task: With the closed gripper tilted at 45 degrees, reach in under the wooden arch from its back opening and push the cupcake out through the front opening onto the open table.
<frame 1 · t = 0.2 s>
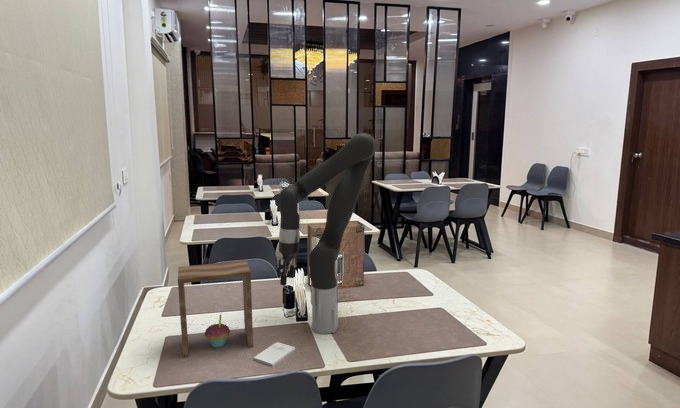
hand: (287, 281, 166), 18 cm above the table, tool pointing down, fingers open, 8 cm apart
wooden arch: (217, 344, 155), on the table
book: (335, 285, 211), on the table
external hard drive: (274, 357, 148), on the table
cupcake: (218, 344, 155), on the table
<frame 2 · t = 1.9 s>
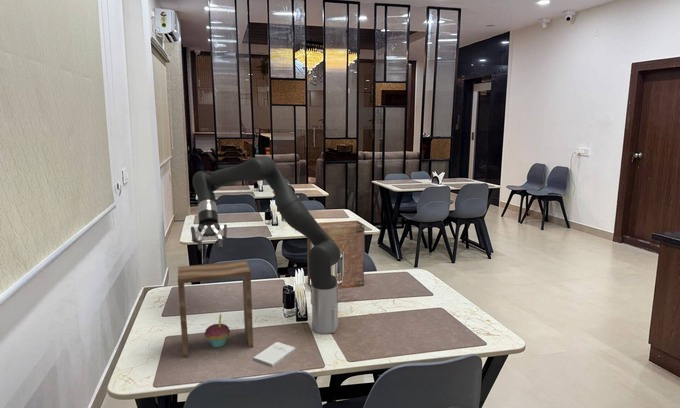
hand: (210, 249, 169), 28 cm above the table, tool tilted 45°, fingers open, 6 cm apart
nothing on the table moved.
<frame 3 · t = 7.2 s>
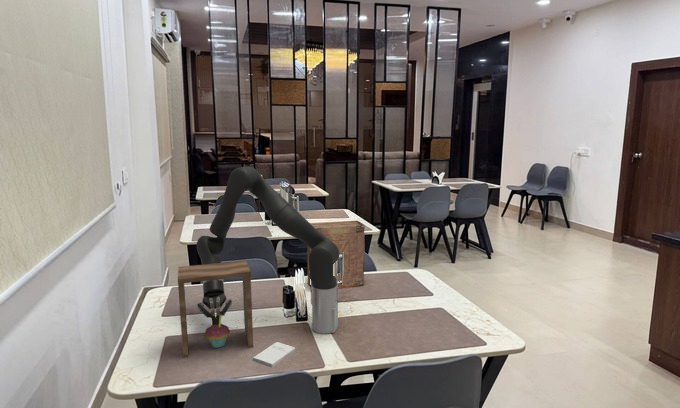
hand: (216, 327, 158), 4 cm above the table, tool tilted 45°, fingers closed
cupcake: (217, 345, 154), on the table, touching gripper
everything else where it was.
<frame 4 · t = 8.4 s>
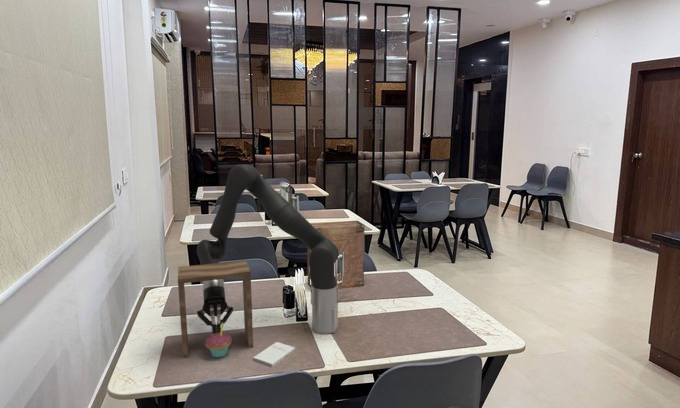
hand: (217, 335, 152), 4 cm above the table, tool tilted 45°, fingers closed
cupcake: (219, 354, 148), on the table, touching gripper
everything else where it was.
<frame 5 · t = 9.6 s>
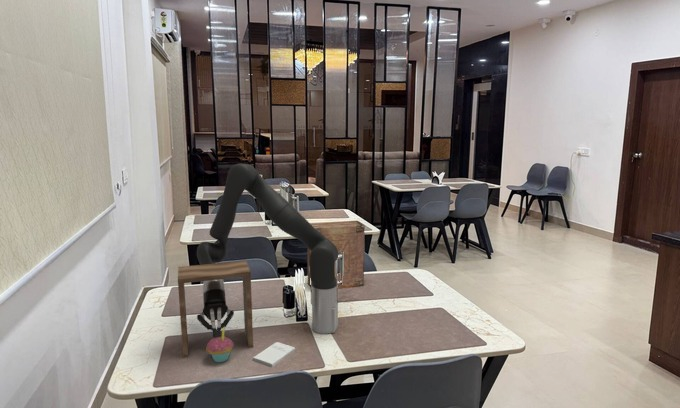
hand: (217, 340, 149), 4 cm above the table, tool tilted 45°, fingers closed
cupcake: (220, 359, 145), on the table, touching gripper
everything else where it was.
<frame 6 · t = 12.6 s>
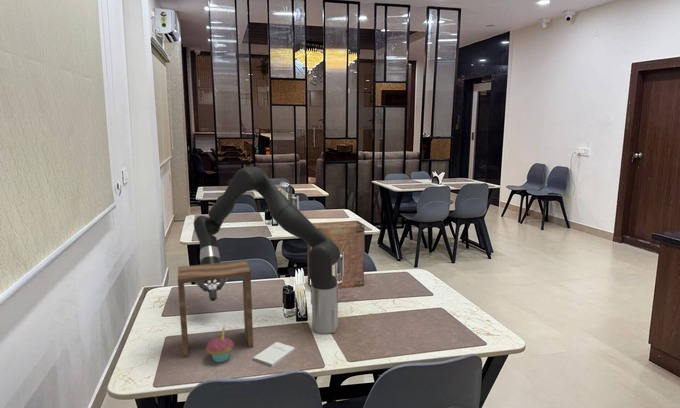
hand: (213, 300, 167), 10 cm above the table, tool tilted 45°, fingers closed
cupcake: (220, 359, 145), on the table
everything else where it was.
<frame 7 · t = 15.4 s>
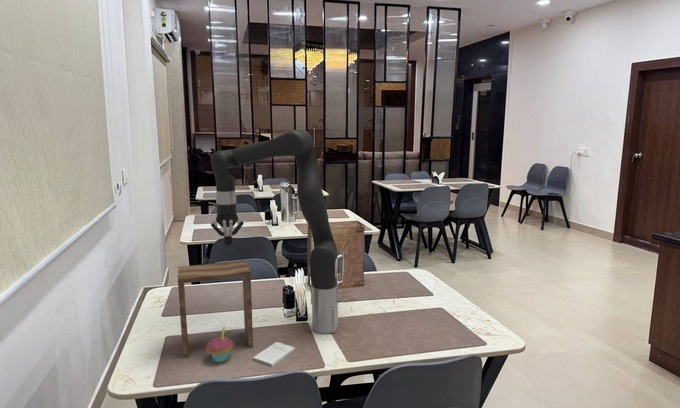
hand: (228, 245, 174), 29 cm above the table, tool pointing down, fingers closed
nothing on the table moved.
at the end: cupcake inside the target area (2.9 cm from its centre), on the table; cupcake moved 10.3 cm from its start; cupcake tilted 0° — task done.
